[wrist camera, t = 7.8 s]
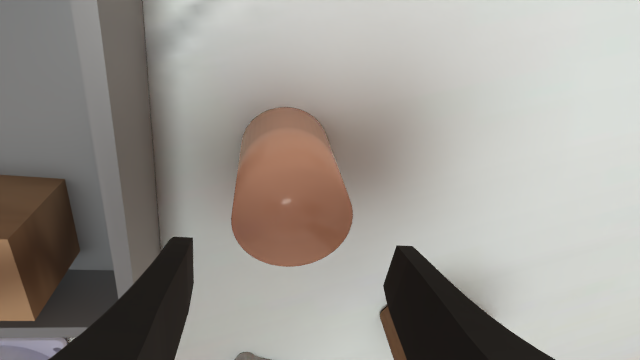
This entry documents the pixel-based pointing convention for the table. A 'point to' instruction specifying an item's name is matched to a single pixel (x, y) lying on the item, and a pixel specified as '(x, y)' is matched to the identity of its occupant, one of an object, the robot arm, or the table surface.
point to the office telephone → (248, 357)
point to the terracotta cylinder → (289, 191)
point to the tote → (82, 143)
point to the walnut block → (33, 243)
